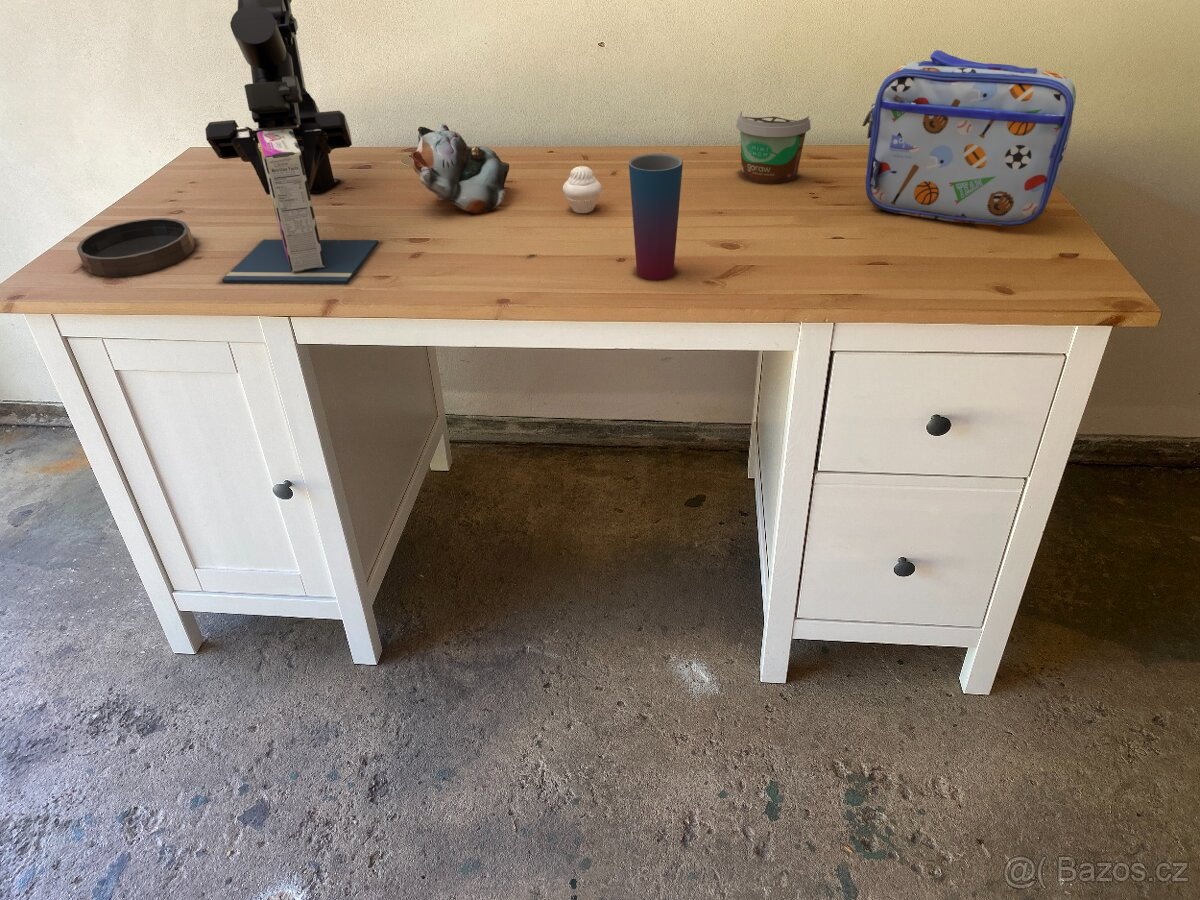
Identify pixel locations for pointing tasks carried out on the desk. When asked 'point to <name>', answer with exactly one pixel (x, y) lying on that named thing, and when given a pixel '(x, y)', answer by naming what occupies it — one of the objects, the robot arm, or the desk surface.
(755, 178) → the food container
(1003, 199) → the lunch box
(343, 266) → the notebook
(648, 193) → the cup
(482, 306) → the desk surface
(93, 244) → the pan
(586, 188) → the muffin
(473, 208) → the lucky cat figurine
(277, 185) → the candy bar box
